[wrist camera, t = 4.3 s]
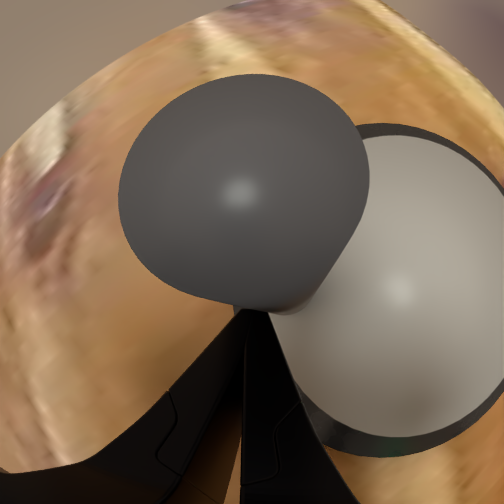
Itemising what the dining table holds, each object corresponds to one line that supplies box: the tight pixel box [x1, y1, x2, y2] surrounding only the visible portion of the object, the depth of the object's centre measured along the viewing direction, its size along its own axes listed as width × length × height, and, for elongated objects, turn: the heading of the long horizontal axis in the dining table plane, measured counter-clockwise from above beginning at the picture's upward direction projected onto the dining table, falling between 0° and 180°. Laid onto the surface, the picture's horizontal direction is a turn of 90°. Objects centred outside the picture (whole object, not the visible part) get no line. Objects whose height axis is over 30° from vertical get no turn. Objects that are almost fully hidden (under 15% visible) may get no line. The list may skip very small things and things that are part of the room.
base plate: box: [233, 123, 504, 458], centre depth 15 cm, size 22×22×2 cm
